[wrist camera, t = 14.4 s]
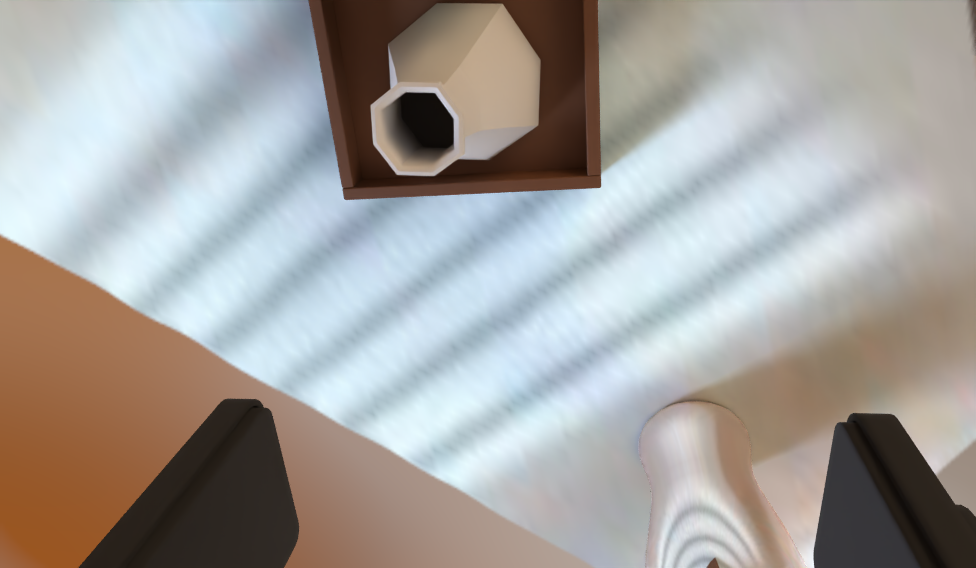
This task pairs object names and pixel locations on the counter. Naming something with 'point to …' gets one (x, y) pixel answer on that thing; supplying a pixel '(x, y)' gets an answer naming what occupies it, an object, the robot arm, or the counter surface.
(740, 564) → the beer glass
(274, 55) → the counter surface
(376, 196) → the tray
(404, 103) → the flask
